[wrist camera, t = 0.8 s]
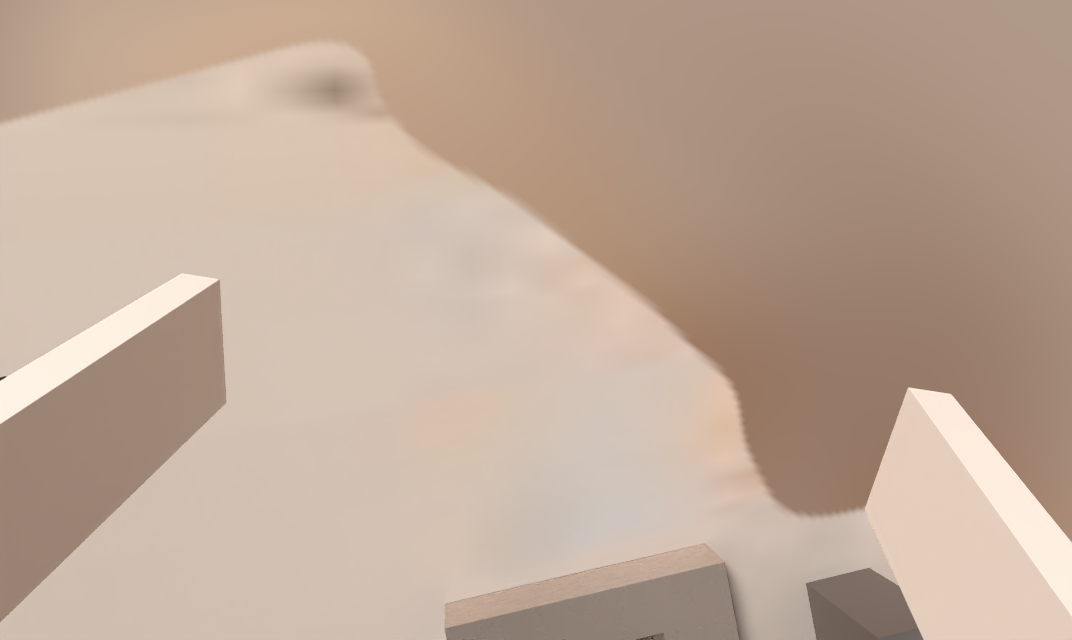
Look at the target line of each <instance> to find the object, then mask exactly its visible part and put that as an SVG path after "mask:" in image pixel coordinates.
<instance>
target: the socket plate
mask: <svg viewBox="0 0 1072 640" xmlns="http://www.w3.org/2000/svg"><path fill="white" fill-rule="evenodd" d="M445 632H446V637H447V640H637V639H641V638H645V637H649V636H653V639H654V640H739V635H738V630H737V625H736V619H735V614H734V609H733V603H732V598H731V593H730V588H729V582H728V577H727V572H726V566H725V562H724V561H723V560H722V559H721V558H720V557H719V556H717V555H716V554H715V553H714V552H713V551H712V550H711V549H710V548H709V547H708V546H707V545H705V544H700V545H696V546H691V547H687V548H683V549H679V550H674V551H670V552H666V553H661V554H657V555H653V556H649V557H644V558H640V559H636V560H631V561H627V562H623V563H619V564H614V565H610V566H606V567H601V568H597V569H593V570H589V571H584V572H580V573H576V574H572V575H567V576H563V577H559V578H554V579H550V580H546V581H542V582H537V583H533V584H529V585H524V586H520V587H516V588H512V589H507V590H503V591H499V592H494V593H490V594H486V595H482V596H477V597H473V598H469V599H464V600H460V601H456V602H452V603H447V604H446V606H445Z"/></svg>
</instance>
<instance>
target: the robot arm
mask: <svg viewBox="0 0 1072 640" xmlns="http://www.w3.org/2000/svg"><path fill="white" fill-rule="evenodd" d="M225 403H226V389H225V371H224V352H223V334H222V316H221V298H220V279H214V278H208V277H201V276H195V275H189V274H180V275H178V276H177V277H175V278H173V279H172V280H170V281H168V282H167V283H165V284H163V285H161V286H160V287H158V288H156V289H155V290H153V291H151V292H150V293H148V294H146V295H145V296H143V297H141V298H139V299H138V300H136V301H134V302H133V303H131V304H129V305H128V306H126V307H124V308H123V309H121V310H119V311H117V312H116V313H114V314H112V315H111V316H109V317H107V318H106V319H104V320H102V321H101V322H99V323H97V324H96V325H94V326H92V327H90V328H89V329H87V330H85V331H84V332H82V333H80V334H79V335H77V336H75V337H74V338H72V339H70V340H68V341H67V342H65V343H63V344H62V345H60V346H58V347H57V348H55V349H53V350H52V351H50V352H48V353H46V354H45V355H43V356H41V357H40V358H38V359H36V360H35V361H33V362H31V363H30V364H28V365H26V366H25V367H23V368H21V369H19V370H18V371H16V372H14V373H13V374H11V375H9V376H8V377H5V376H4V377H1V378H0V622H1V621H2V620H3V619H4V618H5V617H6V616H7V615H8V614H9V613H10V612H11V611H12V610H13V609H14V608H15V607H16V606H17V605H18V604H19V603H20V602H21V601H23V600H24V599H25V598H26V597H27V596H28V595H29V594H30V593H31V592H32V591H33V590H34V589H35V588H36V587H37V586H38V585H39V584H40V583H41V582H42V581H43V580H44V579H45V578H46V577H47V576H48V575H49V574H50V573H51V572H52V571H53V570H54V569H55V568H56V567H58V566H59V565H60V564H61V563H62V562H63V561H64V560H65V559H66V558H67V557H68V556H69V555H70V554H71V553H72V552H73V551H74V550H75V549H76V548H77V547H78V546H79V545H80V544H81V543H82V542H83V541H84V540H85V539H86V538H87V537H88V536H89V535H90V534H91V533H93V532H94V531H95V530H96V529H97V528H98V527H99V526H100V525H101V524H102V523H103V522H104V521H105V520H106V519H107V518H108V517H109V516H110V515H111V514H112V513H113V512H114V511H115V510H116V509H117V508H118V507H119V506H120V505H121V504H122V503H123V502H124V501H125V500H126V499H127V498H129V497H130V496H131V495H132V494H133V493H134V492H135V491H136V490H137V489H138V488H139V487H140V486H141V485H142V484H143V483H144V482H145V481H146V480H147V479H148V478H149V477H150V476H151V475H152V474H153V473H154V472H155V471H156V470H157V469H158V468H159V467H160V466H161V465H162V464H164V463H165V462H166V461H167V460H168V459H169V458H170V457H171V456H172V455H173V454H174V453H175V452H176V451H177V450H178V449H179V448H180V447H181V446H182V445H183V444H184V443H185V442H186V441H187V440H188V439H189V438H190V437H191V436H192V435H193V434H194V433H195V432H196V431H197V430H199V429H200V428H201V427H202V426H203V425H204V424H205V423H206V422H207V421H208V420H209V419H210V418H211V417H212V416H213V415H214V414H215V413H216V412H217V411H218V410H219V409H220V408H221V407H222V406H223V405H224V404H225ZM865 512H866V514H867V516H868V518H869V521H870V523H871V525H872V527H873V529H874V532H875V534H876V536H877V538H878V540H879V543H880V545H881V547H882V549H883V551H884V554H885V556H886V558H887V560H888V562H889V565H890V567H891V569H892V571H893V573H894V576H895V578H896V580H897V582H898V584H899V587H900V589H901V591H902V593H903V595H904V598H905V600H906V602H907V604H908V606H909V609H910V611H911V613H912V615H913V617H914V620H915V622H916V624H917V626H918V628H919V631H920V633H921V635H922V637H923V639H924V640H1072V543H1071V541H1070V540H1069V539H1068V538H1067V537H1066V535H1065V534H1064V533H1063V531H1062V530H1061V529H1060V528H1059V527H1058V525H1057V524H1056V523H1055V522H1054V520H1052V518H1051V517H1050V515H1049V514H1048V513H1047V512H1046V511H1045V509H1044V508H1043V507H1042V506H1041V504H1040V503H1039V502H1038V501H1037V499H1036V498H1035V497H1034V496H1033V494H1032V493H1031V492H1030V491H1029V490H1028V488H1027V487H1026V486H1025V485H1024V484H1023V482H1022V481H1021V480H1020V478H1019V477H1018V476H1017V475H1016V474H1015V472H1014V471H1013V470H1012V469H1011V467H1010V466H1009V465H1008V464H1007V462H1006V461H1005V460H1004V459H1003V458H1002V457H1001V455H1000V454H999V453H998V452H997V450H996V449H995V448H994V446H993V445H992V444H991V443H990V441H989V440H988V439H987V438H986V437H985V435H984V434H983V433H982V432H981V430H980V429H979V428H978V427H977V425H976V424H975V423H974V422H973V421H972V419H971V418H970V417H969V416H968V414H966V412H965V411H964V409H963V408H962V407H961V406H960V405H959V404H958V402H957V401H956V400H955V398H954V397H953V396H952V395H951V394H947V393H939V392H934V391H927V390H921V389H914V388H908V390H907V392H906V395H905V398H904V401H903V404H902V407H901V409H900V412H899V415H898V418H897V421H896V423H895V426H894V429H893V432H892V434H891V437H890V440H889V443H888V446H887V448H886V452H885V454H884V457H883V460H882V463H881V465H880V468H879V471H878V474H877V477H876V479H875V482H874V485H873V488H872V491H871V493H870V496H869V499H868V502H867V505H866V507H865Z"/></svg>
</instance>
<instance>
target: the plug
mask: <svg viewBox="0 0 1072 640" xmlns="http://www.w3.org/2000/svg"><path fill="white" fill-rule="evenodd" d="M806 585H807V590H808V596H809V601H810V607H811V612H812V617H813V623H814V628H815V633H816V639H817V640H924V639H923V637H922V635H921V633H920V631H919V628H918V626H917V624H916V622H915V620H914V617H913V615H912V613H911V611H910V609H909V606H908V604H907V602H906V600H905V598H904V595H903V593H902V591H901V589H900V587H899V586H898V585H896V584H895V583H893V582H891V581H890V580H888V579H886V578H885V577H883V576H881V575H880V574H878V573H876V572H875V571H873V570H872V569H870V568H867V569H863V570H859V571H855V572H851V573H846V574H842V575H838V576H834V577H830V578H826V579H822V580H818V581H814V582H809V583H806Z"/></svg>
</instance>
